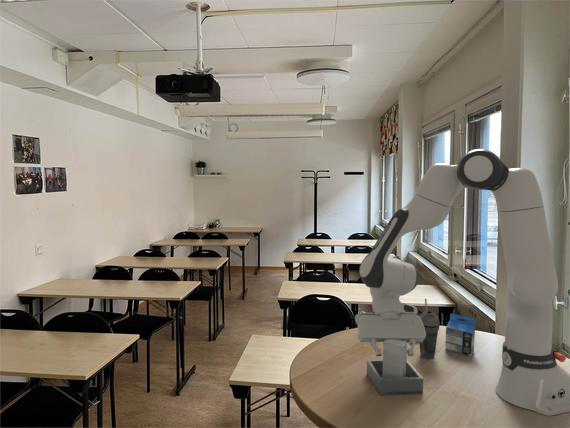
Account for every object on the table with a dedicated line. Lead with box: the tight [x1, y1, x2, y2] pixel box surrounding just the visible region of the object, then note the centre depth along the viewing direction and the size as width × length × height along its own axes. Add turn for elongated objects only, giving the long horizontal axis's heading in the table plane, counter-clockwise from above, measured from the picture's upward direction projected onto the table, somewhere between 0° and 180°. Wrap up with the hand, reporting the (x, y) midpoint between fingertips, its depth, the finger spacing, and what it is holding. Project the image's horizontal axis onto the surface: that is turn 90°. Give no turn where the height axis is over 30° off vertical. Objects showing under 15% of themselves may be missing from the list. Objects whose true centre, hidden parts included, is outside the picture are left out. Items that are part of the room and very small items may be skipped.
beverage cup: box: [418, 298, 441, 360], centre depth 138 cm, size 7×7×20 cm
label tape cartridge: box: [445, 313, 476, 357], centre depth 142 cm, size 9×4×12 cm, turn 49°
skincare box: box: [382, 339, 408, 379], centre depth 120 cm, size 6×4×12 cm
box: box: [366, 358, 425, 397], centre depth 120 cm, size 13×13×4 cm
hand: (395, 355), depth 119 cm, fingers open, 8 cm apart
